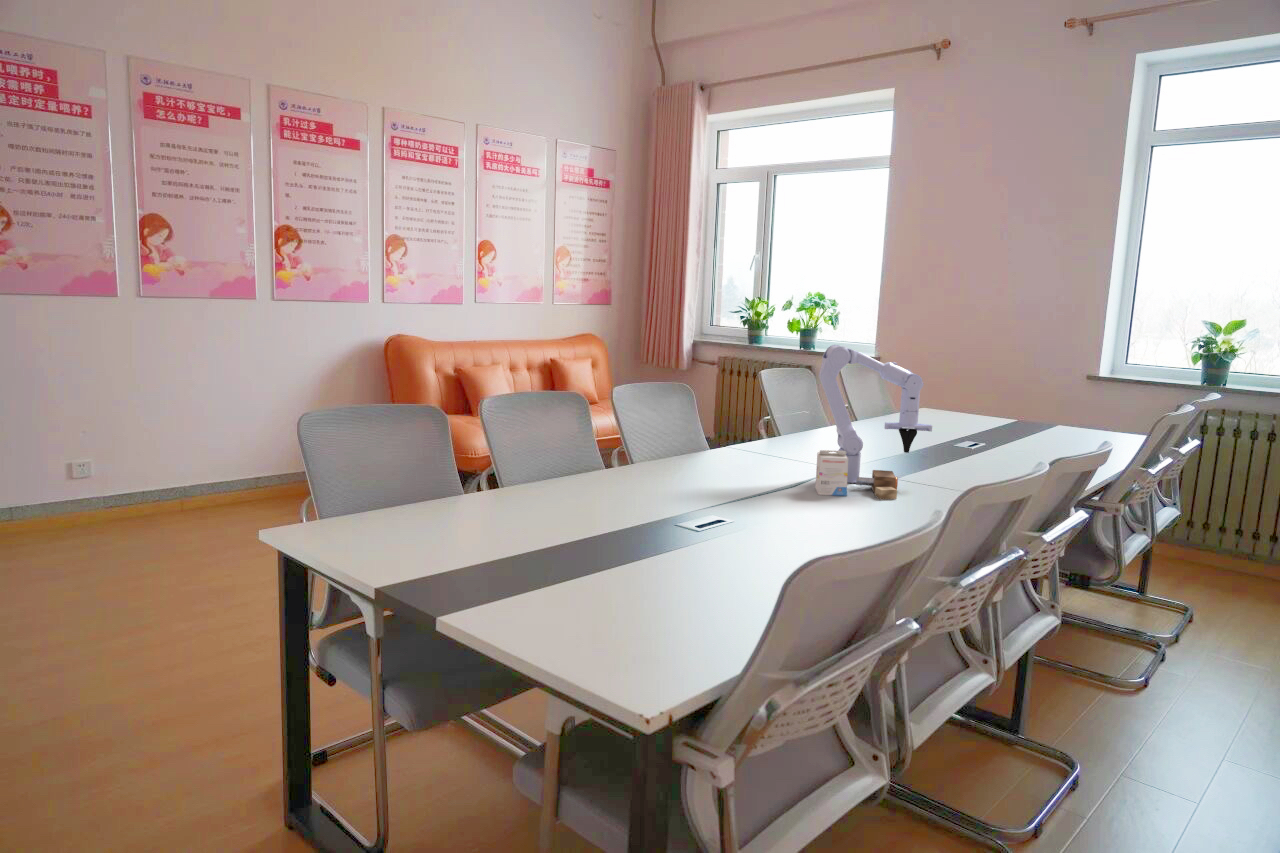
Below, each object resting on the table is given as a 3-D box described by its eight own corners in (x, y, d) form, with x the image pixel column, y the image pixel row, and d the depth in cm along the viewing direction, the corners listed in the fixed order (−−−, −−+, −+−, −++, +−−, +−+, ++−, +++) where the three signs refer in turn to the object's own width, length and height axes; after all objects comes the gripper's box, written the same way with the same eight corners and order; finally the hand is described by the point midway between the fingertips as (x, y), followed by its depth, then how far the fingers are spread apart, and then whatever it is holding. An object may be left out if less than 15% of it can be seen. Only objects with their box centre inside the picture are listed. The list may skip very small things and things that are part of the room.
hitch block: (874, 493, 260) (875, 476, 259) (871, 486, 269) (872, 469, 269) (894, 495, 259) (895, 477, 258) (891, 487, 268) (892, 471, 267)
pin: (856, 488, 263) (857, 475, 263) (855, 485, 267) (856, 473, 267) (897, 491, 261) (897, 478, 261) (895, 488, 265) (896, 475, 264)
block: (880, 500, 253) (881, 490, 252) (874, 496, 257) (875, 487, 256) (896, 499, 254) (897, 489, 253) (890, 496, 258) (890, 486, 257)
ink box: (843, 490, 264) (845, 447, 262) (846, 496, 256) (849, 452, 253) (814, 488, 265) (817, 446, 262) (817, 495, 256) (820, 451, 254)
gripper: (887, 410, 271) (884, 453, 273) (934, 413, 268) (931, 455, 270) (885, 408, 278) (882, 449, 280) (931, 410, 275) (928, 451, 277)
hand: (906, 452), depth 276 cm, fingers closed
